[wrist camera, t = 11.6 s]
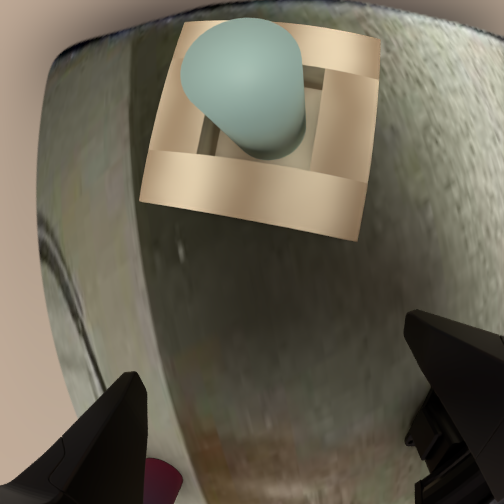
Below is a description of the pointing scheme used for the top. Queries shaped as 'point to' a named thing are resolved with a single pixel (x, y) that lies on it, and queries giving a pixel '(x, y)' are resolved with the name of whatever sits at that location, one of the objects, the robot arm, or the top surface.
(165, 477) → the cup
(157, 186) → the socket
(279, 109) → the peg
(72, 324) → the top surface
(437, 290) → the top surface
